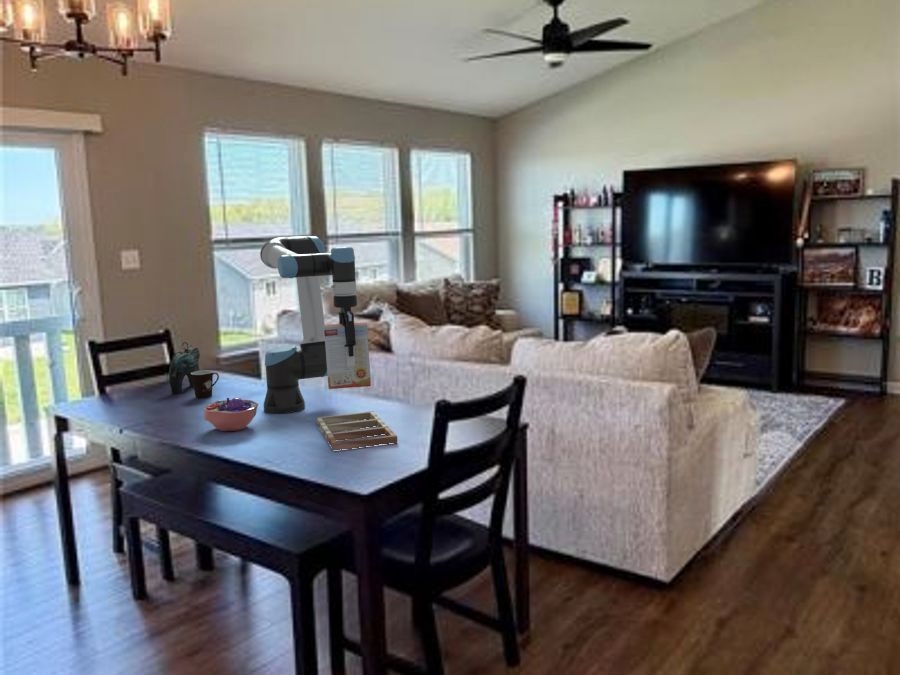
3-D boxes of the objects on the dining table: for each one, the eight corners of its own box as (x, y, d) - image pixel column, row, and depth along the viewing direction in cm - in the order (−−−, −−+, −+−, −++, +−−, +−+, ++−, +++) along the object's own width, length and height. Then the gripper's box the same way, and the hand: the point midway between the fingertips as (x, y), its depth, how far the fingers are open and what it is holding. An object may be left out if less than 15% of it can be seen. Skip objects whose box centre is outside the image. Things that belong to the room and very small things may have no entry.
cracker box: (371, 383, 249) (367, 321, 245) (370, 387, 243) (367, 324, 239) (329, 385, 247) (324, 323, 244) (328, 389, 241) (323, 326, 238)
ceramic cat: (192, 383, 327) (188, 339, 323) (206, 383, 325) (202, 339, 322) (167, 394, 307) (162, 347, 304) (181, 394, 306) (177, 347, 303)
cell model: (236, 418, 266) (234, 388, 264) (269, 428, 253) (267, 395, 251) (193, 430, 253) (191, 397, 251) (226, 440, 240) (223, 406, 238)
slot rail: (316, 424, 255) (316, 417, 255) (373, 417, 261) (373, 410, 261) (333, 452, 224) (333, 444, 224) (397, 443, 231) (397, 436, 230)
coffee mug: (195, 400, 295) (192, 375, 294) (190, 396, 303) (188, 372, 301) (224, 395, 301) (222, 372, 300) (219, 391, 309) (217, 368, 307)
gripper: (328, 293, 248) (332, 360, 252) (339, 297, 230) (343, 370, 233) (350, 291, 251) (353, 358, 254) (362, 296, 232) (366, 368, 236)
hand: (348, 363), depth 244 cm, fingers closed on cracker box, 7 cm apart
